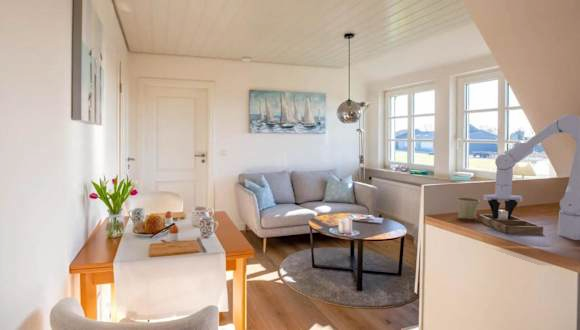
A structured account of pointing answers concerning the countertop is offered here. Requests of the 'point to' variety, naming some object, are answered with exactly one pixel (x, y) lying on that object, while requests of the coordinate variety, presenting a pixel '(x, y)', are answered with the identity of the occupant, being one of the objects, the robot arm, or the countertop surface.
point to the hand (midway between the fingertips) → (501, 218)
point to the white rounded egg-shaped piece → (502, 215)
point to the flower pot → (467, 207)
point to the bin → (511, 225)
